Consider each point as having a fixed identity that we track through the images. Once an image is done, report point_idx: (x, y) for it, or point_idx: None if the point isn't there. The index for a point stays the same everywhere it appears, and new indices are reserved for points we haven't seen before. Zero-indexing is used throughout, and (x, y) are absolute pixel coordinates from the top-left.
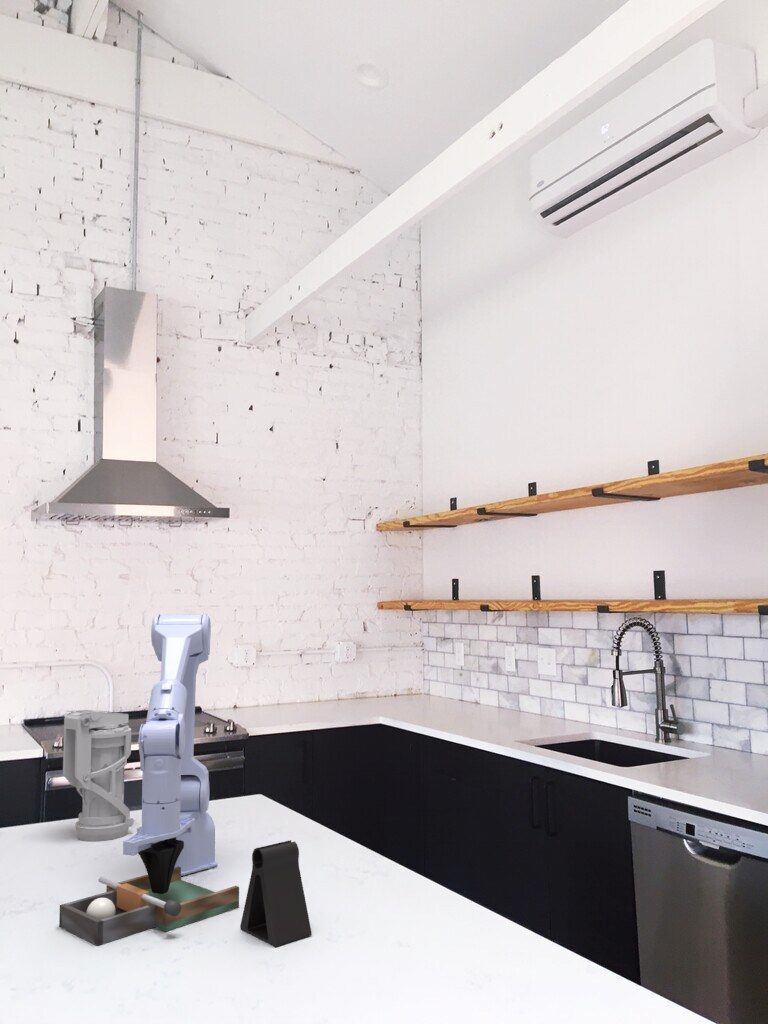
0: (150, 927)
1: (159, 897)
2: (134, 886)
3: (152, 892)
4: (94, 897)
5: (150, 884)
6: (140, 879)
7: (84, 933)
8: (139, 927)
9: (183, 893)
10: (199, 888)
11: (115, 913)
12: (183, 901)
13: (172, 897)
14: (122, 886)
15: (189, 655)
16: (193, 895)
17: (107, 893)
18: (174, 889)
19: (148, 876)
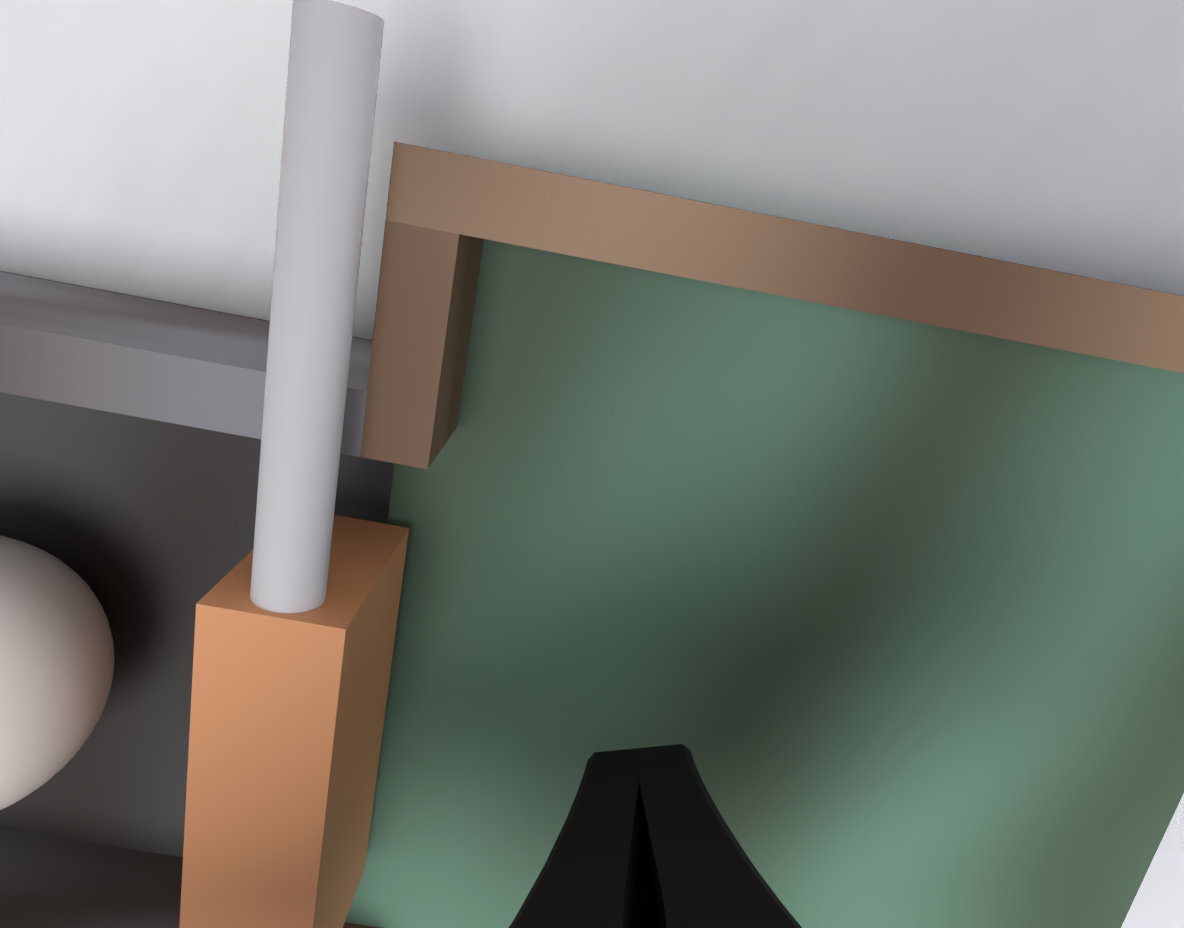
0: None
1: (769, 619)
2: (319, 806)
3: (586, 764)
4: (17, 392)
5: (575, 800)
6: (870, 312)
7: None
8: None
9: (967, 732)
10: (1157, 761)
11: None
12: (786, 866)
13: (825, 723)
14: (227, 683)
15: None
16: (956, 841)
17: (201, 423)
18: (1039, 575)
19: (541, 870)
